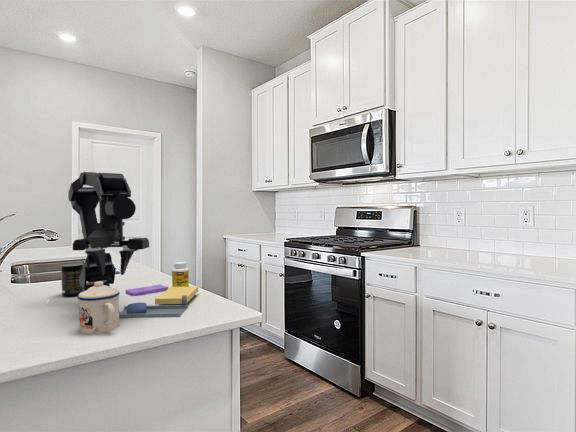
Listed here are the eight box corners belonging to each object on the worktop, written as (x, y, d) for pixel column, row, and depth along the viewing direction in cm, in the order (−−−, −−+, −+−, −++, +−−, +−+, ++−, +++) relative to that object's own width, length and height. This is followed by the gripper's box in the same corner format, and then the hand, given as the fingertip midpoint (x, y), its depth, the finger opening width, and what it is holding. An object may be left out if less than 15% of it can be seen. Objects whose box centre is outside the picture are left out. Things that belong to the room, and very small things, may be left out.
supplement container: (88, 294, 128) (87, 264, 128) (68, 298, 123) (67, 266, 122) (78, 292, 132) (77, 262, 132) (57, 296, 126) (56, 265, 126)
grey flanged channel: (111, 319, 99) (111, 314, 99) (125, 309, 108) (125, 305, 108) (179, 318, 99) (179, 313, 99) (188, 308, 108) (188, 304, 108)
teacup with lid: (72, 330, 91) (71, 282, 90) (111, 321, 97) (110, 276, 97) (92, 341, 83) (90, 289, 82) (132, 331, 89) (131, 282, 89)
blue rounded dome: (124, 315, 101) (124, 307, 101) (131, 310, 106) (131, 302, 106) (142, 315, 101) (142, 307, 101) (149, 310, 106) (149, 302, 106)
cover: (171, 291, 124) (171, 284, 124) (199, 291, 124) (198, 284, 124) (154, 305, 107) (154, 297, 107) (186, 304, 107) (186, 296, 107)
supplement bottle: (175, 294, 126) (174, 264, 126) (170, 291, 131) (169, 262, 131) (191, 292, 129) (190, 262, 129) (186, 289, 134) (185, 261, 134)
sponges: (168, 292, 132) (168, 286, 132) (132, 298, 124) (132, 292, 124) (160, 289, 138) (160, 284, 138) (125, 294, 129) (125, 289, 129)
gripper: (59, 220, 94) (61, 281, 95) (133, 219, 95) (135, 280, 95) (82, 218, 105) (84, 273, 106) (149, 217, 106) (150, 272, 106)
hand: (112, 275), depth 103 cm, fingers open, 5 cm apart
